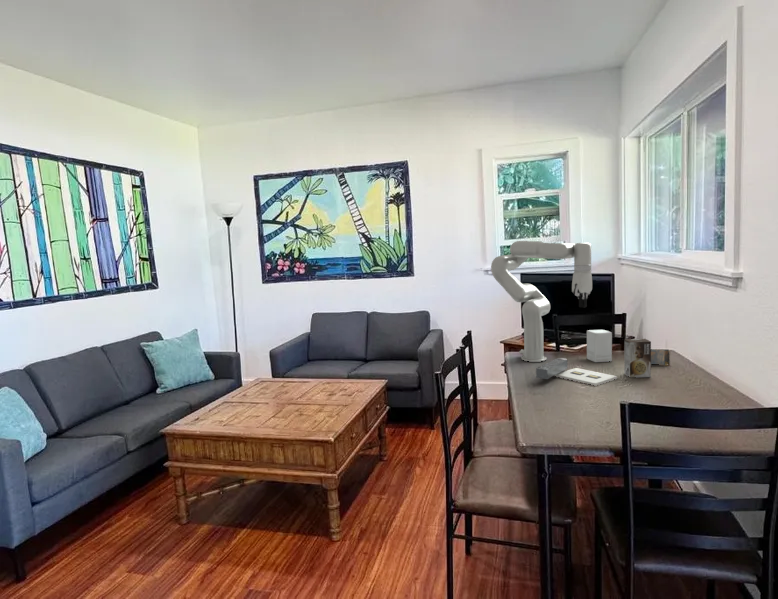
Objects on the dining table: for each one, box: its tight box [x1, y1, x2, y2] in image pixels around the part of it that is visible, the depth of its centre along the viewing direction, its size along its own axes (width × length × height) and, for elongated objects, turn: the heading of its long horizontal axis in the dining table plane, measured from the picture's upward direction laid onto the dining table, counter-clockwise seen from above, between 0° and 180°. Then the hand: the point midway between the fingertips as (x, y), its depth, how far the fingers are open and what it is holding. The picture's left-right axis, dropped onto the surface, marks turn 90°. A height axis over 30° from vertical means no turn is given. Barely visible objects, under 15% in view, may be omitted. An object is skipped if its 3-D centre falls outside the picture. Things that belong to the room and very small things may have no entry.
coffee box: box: [623, 338, 652, 378], centre depth 209 cm, size 9×6×16 cm
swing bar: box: [535, 357, 568, 380], centre depth 213 cm, size 24×5×4 cm, turn 138°
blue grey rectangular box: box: [651, 348, 671, 366], centre depth 227 cm, size 11×3×10 cm, turn 74°
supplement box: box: [586, 329, 613, 363], centre depth 240 cm, size 9×9×15 cm
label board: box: [554, 367, 618, 387], centre depth 212 cm, size 23×16×2 cm
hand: (582, 307), depth 226 cm, fingers closed
